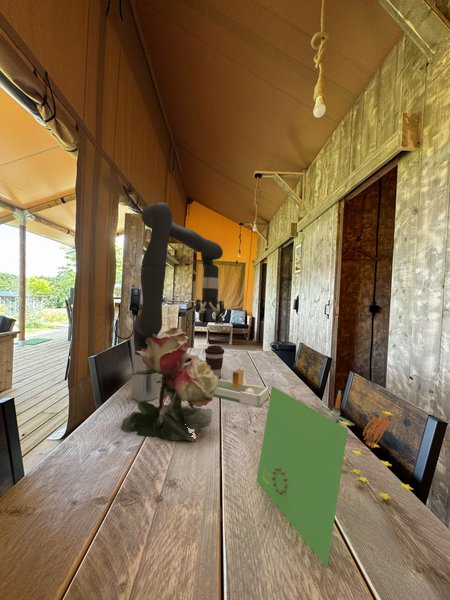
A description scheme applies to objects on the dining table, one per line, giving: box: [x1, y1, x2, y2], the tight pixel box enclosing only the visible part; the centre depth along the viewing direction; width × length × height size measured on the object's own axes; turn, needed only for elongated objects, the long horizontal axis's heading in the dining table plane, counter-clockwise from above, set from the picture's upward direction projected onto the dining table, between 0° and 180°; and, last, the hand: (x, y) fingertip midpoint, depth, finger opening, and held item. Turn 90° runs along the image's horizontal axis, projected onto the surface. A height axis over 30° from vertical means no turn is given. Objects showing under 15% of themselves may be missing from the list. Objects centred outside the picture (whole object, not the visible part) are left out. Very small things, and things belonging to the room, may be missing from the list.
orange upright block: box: [231, 368, 244, 392], centre depth 116 cm, size 6×2×9 cm, turn 153°
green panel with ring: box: [256, 385, 414, 568], centre depth 59 cm, size 22×25×24 cm
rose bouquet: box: [120, 327, 220, 442], centre depth 92 cm, size 26×29×30 cm
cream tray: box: [213, 378, 270, 407], centre depth 116 cm, size 11×24×4 cm, turn 63°
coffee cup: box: [204, 345, 225, 378], centre depth 143 cm, size 10×10×15 cm
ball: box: [245, 388, 255, 394], centre depth 114 cm, size 4×4×4 cm
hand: (209, 322), depth 133 cm, fingers open, 8 cm apart
